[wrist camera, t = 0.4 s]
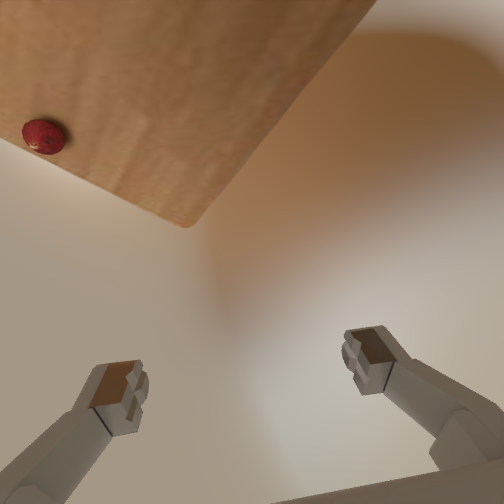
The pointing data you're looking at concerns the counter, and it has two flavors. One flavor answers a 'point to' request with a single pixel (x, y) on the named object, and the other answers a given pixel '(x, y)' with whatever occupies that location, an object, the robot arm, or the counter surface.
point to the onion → (43, 137)
